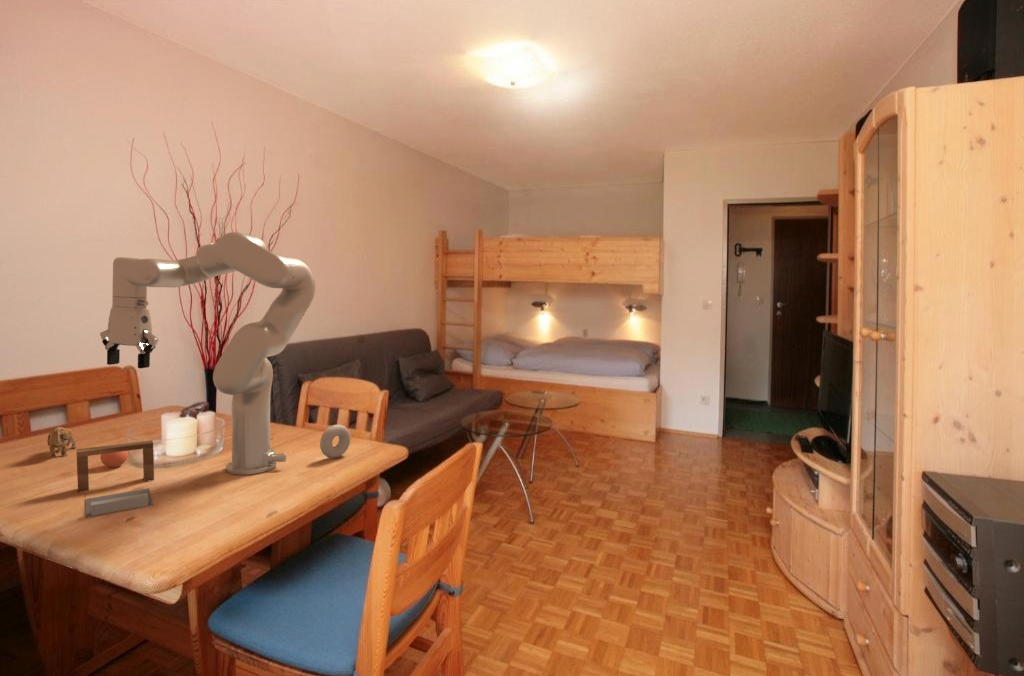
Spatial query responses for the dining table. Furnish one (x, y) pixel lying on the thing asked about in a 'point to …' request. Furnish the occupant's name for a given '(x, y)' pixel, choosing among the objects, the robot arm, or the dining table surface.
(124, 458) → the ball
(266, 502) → the dining table surface
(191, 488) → the dining table surface
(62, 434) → the brown toy animal
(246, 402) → the robot arm
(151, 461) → the bridge
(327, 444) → the donut
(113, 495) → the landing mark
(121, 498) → the wall
